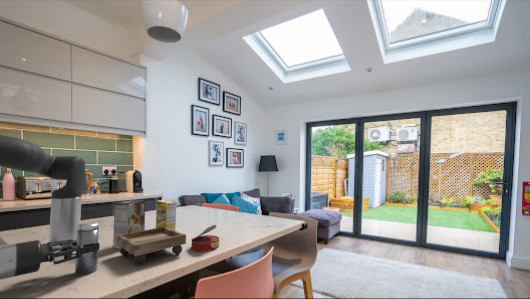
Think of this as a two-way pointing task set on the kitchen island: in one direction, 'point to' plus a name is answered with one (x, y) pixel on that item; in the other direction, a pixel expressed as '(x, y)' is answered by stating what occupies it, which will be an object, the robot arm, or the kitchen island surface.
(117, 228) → the coffee box
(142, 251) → the tray
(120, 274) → the kitchen island surface
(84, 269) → the canister
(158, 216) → the candy box
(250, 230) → the kitchen island surface
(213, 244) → the canned food
